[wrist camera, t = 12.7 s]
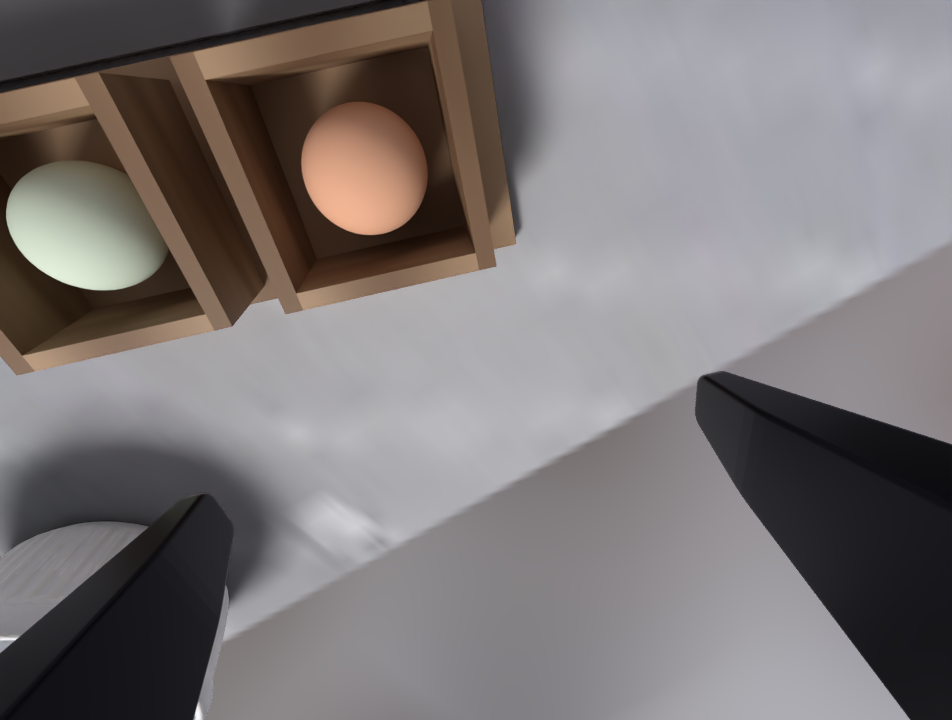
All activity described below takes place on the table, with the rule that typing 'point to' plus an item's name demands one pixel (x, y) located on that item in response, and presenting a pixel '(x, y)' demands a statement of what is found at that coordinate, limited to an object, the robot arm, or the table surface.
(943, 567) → the robot arm
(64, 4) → the mat
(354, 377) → the table surface
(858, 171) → the table surface
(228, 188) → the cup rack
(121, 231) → the ball sage
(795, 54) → the table surface
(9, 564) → the ramekin
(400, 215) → the ball terracotta
